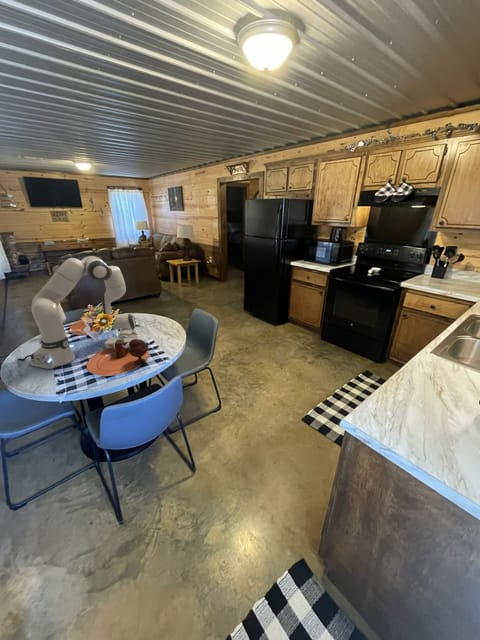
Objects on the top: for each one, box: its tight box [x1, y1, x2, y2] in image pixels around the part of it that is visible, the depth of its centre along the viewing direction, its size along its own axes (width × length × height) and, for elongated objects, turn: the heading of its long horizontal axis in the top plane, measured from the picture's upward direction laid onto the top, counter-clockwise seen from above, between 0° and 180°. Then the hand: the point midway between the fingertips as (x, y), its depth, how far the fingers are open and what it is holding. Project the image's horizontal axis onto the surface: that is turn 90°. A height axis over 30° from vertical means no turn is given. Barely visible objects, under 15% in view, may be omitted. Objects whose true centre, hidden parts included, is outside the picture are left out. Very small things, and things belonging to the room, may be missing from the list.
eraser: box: [115, 339, 127, 358], centre depth 157 cm, size 4×6×9 cm
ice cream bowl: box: [127, 339, 149, 366], centre depth 148 cm, size 11×11×15 cm
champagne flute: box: [58, 302, 71, 338], centre depth 177 cm, size 7×7×24 cm
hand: (120, 348), depth 156 cm, fingers closed on eraser, 4 cm apart
